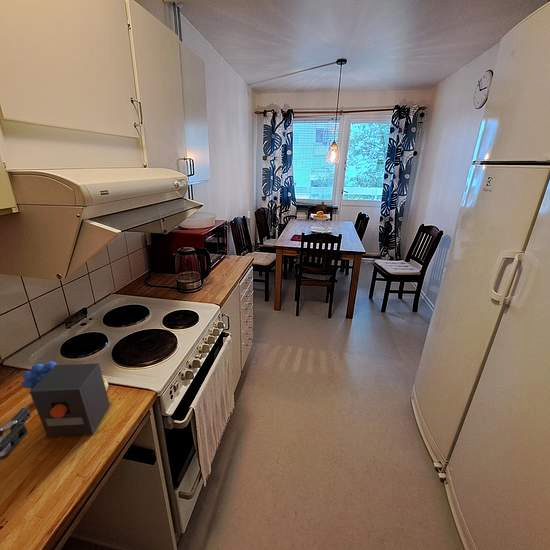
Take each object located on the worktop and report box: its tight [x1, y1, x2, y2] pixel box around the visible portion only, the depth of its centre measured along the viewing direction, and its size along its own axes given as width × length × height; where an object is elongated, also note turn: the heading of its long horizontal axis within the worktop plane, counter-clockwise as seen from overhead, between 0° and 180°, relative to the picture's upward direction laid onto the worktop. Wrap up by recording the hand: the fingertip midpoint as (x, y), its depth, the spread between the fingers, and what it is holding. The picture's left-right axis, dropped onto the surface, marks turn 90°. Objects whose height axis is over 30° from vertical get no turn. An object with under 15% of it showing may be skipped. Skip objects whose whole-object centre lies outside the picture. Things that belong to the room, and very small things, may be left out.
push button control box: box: [29, 363, 111, 438], centre depth 80 cm, size 12×10×16 cm
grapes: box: [21, 361, 58, 391], centre depth 90 cm, size 12×7×12 cm, turn 132°
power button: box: [50, 404, 67, 418], centre depth 74 cm, size 3×2×3 cm, turn 94°
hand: (3, 413), depth 58 cm, fingers open, 8 cm apart
